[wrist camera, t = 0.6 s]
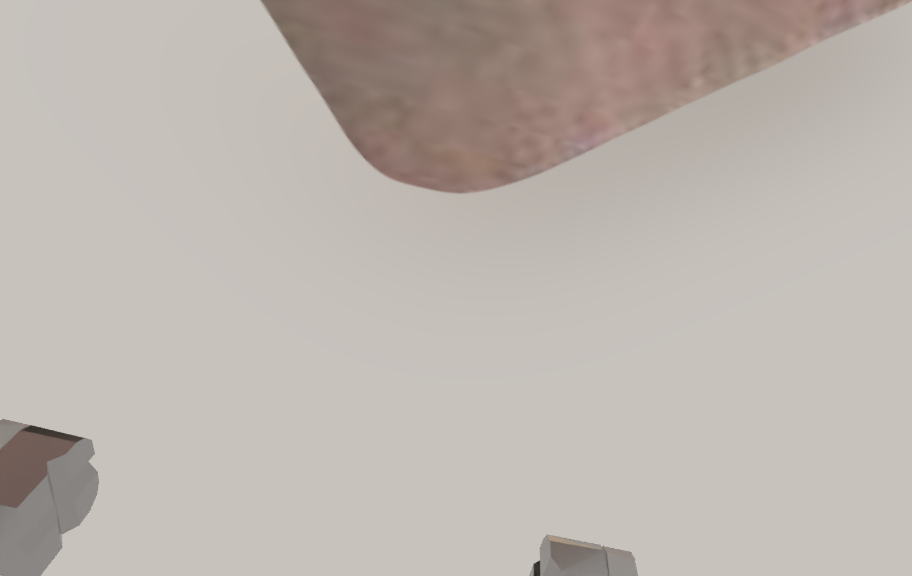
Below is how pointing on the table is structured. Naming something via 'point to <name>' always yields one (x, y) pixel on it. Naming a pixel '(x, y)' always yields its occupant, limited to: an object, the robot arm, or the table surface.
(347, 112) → the table surface
